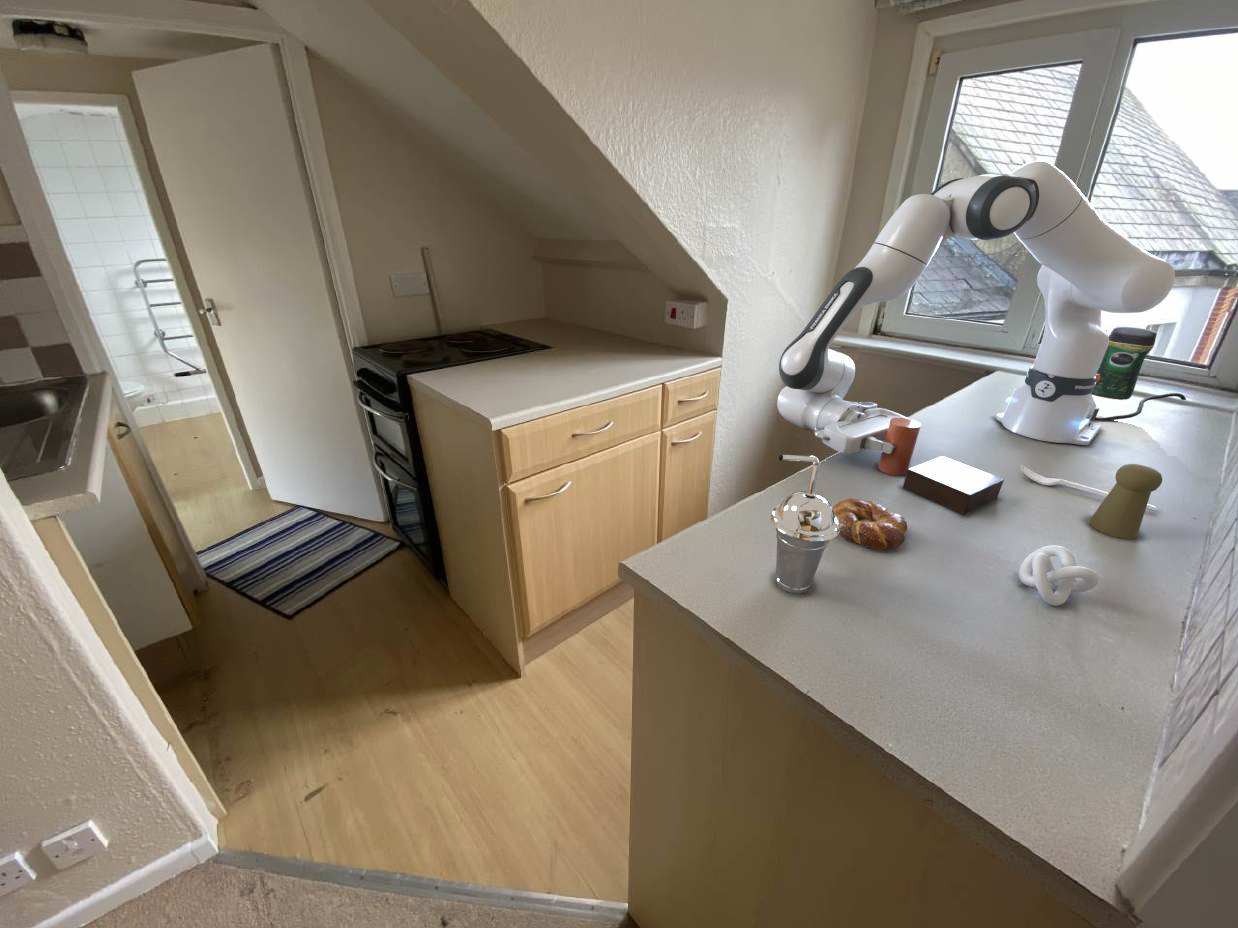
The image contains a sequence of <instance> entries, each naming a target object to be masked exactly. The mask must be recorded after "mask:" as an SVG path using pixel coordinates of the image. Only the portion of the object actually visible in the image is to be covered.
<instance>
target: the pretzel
mask: <svg viewBox="0 0 1238 928" xmlns="http://www.w3.org/2000/svg"><path fill="white" fill-rule="evenodd" d="M832 509H833V511H834V515H835V516H836V517H837V518H838V520H839V523H840V531H839V533H838V535H840V537H841V538H843V539H844V540H846V541H848V542H850V543H855V544H859V545H861V546H863V547H866V548H872V549H887V550H888V549H895V548H897V547H900V546H902V545H903V544H904V542H905V540H906V536H905V533H906V532H907V530H908V524H907V523H908V522H907V521H906V520H905V518H904V517H903V516H902V515H901V514H899V513H897V512H888V508H886V507H885V506H883V505H882V504H880V503H879V502H876V501H870V500H863V499H860V498H859V499H858V498H855V497H854V498H852V497H851V498H845V499H842V500H840V501H839V502H837V503H836V504H834V506H833V507H832Z"/></svg>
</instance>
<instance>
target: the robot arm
mask: <svg viewBox="0 0 1238 928" xmlns="http://www.w3.org/2000/svg"><path fill="white" fill-rule="evenodd" d="M1012 234H1014V235H1015V236H1016V237H1017V239H1018V240H1019V241H1020V242H1021V243H1022V244H1023V246H1024V247H1025V248H1026V249H1027V251H1028V252H1029V253H1030V254H1031V255H1032V256H1033V258H1034V259H1035V260H1036V261H1037V262H1038V263H1039V264H1040V265H1041V266H1040V268H1039V271H1038V273H1037V276H1036V277H1037V278H1036V285H1037V288H1038V289H1039V291H1040V293H1041V295H1042V298H1043V301H1044V311H1045V314H1044V315H1045V319H1044V330H1043V334H1042V338H1041V341H1040V344H1039V347H1038V351H1037V354H1036V356H1035V359H1034V362H1033V364H1032V365H1031V366H1029V369H1028V371H1027V372H1026V374H1025V379H1024V384H1022V385H1020V386H1018V387H1015V388H1014V390H1013V392H1012V394H1011V397H1006V400H1005V403H1007V406H1006V408H1005V410H1004V412H1002V413H997V414H996V416H995V419H996V421H999V422H1001V424H1002V426H1003V427H1004V428H1006V429H1007V430H1009V431H1011V432H1012V433H1015V434H1018V435H1020V436H1023V437H1027V438H1030V439H1034V440H1037V441H1042V442H1049V443H1058V444H1071V445H1079V446H1089V445H1090V444H1091V442H1093V440H1094V438H1095V437H1096V435H1097V434H1098V433H1099V432H1100V429H1101V425H1100V424H1097V423H1096V422H1094V421H1097V422H1099V421H1102V422H1103V421H1105V422H1106V421H1108V422H1109V421H1117V420H1124V419H1132V418H1135V417H1137V416H1139V415H1140V414H1141V413H1142V411H1143V408H1144V404H1145V403H1146V402H1148V401H1151V400H1158V399H1165V398H1170V397H1177V398H1179V399H1181V400H1182V401H1187V398H1186V396H1185V395H1184V394H1182V393H1178V392H1170V393H1164V394H1158V395H1151V396H1146V397H1144V398H1143V399H1141V400H1140V401H1139V403H1138V407H1137V410H1136V411H1135V412H1133V413H1132V412H1131V413H1128V414H1119V415H1114V416H1105V417H1097V416H1098V413H1099V411H1100V407H1097V404H1096V402H1095V400H1094V398H1093V395H1091V393H1092V392H1093V390H1094V387H1095V385H1096V382H1097V381H1098V380H1099V377H1100V374H1096V373H1097V370H1098V368H1099V366H1100V364H1101V361H1102V359H1103V357H1104V354H1105V352H1106V350H1107V347H1108V345H1109V334H1108V333H1107V332H1106V330H1105V329H1104V327H1103V324H1102V312H1107V313H1110V314H1111V313H1112V314H1134V313H1137V314H1138V313H1143V312H1148V311H1150V310H1152V309H1154V308H1155V307H1157V306H1158V305H1159V304H1160V303H1162V302H1163V301H1164V300H1165V299H1166V298H1167V297H1168V295H1169V294H1170V293H1171V291H1172V289H1173V287H1174V285H1175V282H1176V281H1175V280H1176V271H1175V268H1174V266H1173V265H1172V264H1171V263H1170V262H1169V261H1166V260H1165V259H1162V258H1160V257H1158V256H1156V255H1153V254H1151V253H1150V252H1148V251H1146V250H1145V249H1143V248H1142V247H1140V246H1139V245H1137V244H1136V243H1135V242H1133V241H1132V240H1131V239H1130V238H1128V236H1127V237H1126V236H1125V235H1124V234H1122V233H1121V232H1120V231H1118V230H1117V229H1115V228H1114V227H1113V226H1112V225H1110V224H1109V223H1108V222H1106V221H1105V219H1103V217H1102V216H1101V215H1100V214H1099V213H1098V211H1097V210H1096V209H1095V208H1094V206H1093V205H1092V204H1091V202H1089V200H1088V198H1087V197H1086V196H1085V195H1084V194H1083V192H1082V190H1080V189H1079V187H1078V186H1077V185H1076V184H1075V182H1073V180H1072V179H1070V177H1068V176H1067V175H1066V174H1065V173H1064V172H1063V171H1062V170H1060V169H1059V168H1057V167H1056V166H1055V165H1054V164H1052V163H1050V162H1048V161H1045V160H1034V161H1030V162H1028V163H1025V164H1023V165H1021V166H1019V167H1018V168H1016V169H1015V170H1013V171H1011V172H1010V174H1001V175H997V174H996V175H995V174H979V175H975V176H970V177H966V178H964V177H960V178H959V177H958V178H954V179H951V180H950V181H946V182H944V183H943V184H941V185H939V186H938V187H936V189H934V190H933V191H932V192H931V193H930V194H929V193H917V194H914V195H911V196H910V197H907V199H905V200H904V201H903V202H902V203H901V204H900V206H899V207H898V208H897V209H896V211H894V213H893V214H892V215H891V217H890V218H889V219H888V221H887V222H886V223H885V225H884V227H883V228H882V229H881V231H880V233H879V234H878V235H877V237H876V238H875V240H874V242H873V244H872V245H871V246H870V249H869V250H868V251H867V253H866V254H865V256H864V257H863V258H862V260H861V261H860V262H859V263H858V264H857V265H856V266H855V267H853V269H851V270H849V271H848V272H846V273H845V274H844V275H843V277H842V278H841V279H840V280H839V281H838V282H837V283H836V285H835V286H834V287H833V289H832V290H831V292H830V293H829V294H828V295H827V296H826V298H825V299H824V301H823V302H822V304H821V305H820V307H819V308H818V309H817V311H816V312H815V313H814V315H813V316H812V318H811V319H810V321H809V322H808V323H807V324H806V326H805V327H804V329H803V330H802V331H801V332H800V334H798V336H797V337H795V338H794V340H792V341H791V342H790V343H789V344H788V345H787V346H786V347H785V349H784V351H783V352H782V353H781V355H780V357H779V362H778V372H779V373H778V374H779V377H780V379H781V381H782V383H783V384H784V386H785V387H783V388H782V389H781V390H780V392H779V393H778V396H777V402H776V405H777V406H776V407H777V411H778V412H779V414H780V416H781V417H782V418H783V419H784V420H785V421H787V422H789V423H790V424H792V425H794V426H796V427H798V428H801V429H803V430H805V431H808V432H813V434H814V436H815V437H816V438H819V439H821V442H822V443H823V444H824V445H825V446H827V447H829V448H830V449H832V450H834V451H835V452H838V453H840V454H844V455H853V454H856V453H858V452H859V453H860V452H862V451H865V450H869V451H874V452H881V453H882V452H885V453H887V454H890V453H893V452H895V448H896V444H894V443H891V442H889V441H887V442H885V439H886V435H887V431H888V427H889V423H890V420H891V419H892V418H908V419H910V418H909V417H907V416H905V415H902V414H900V413H898V412H895V411H892V410H890V409H887V408H884V407H878V404H877V403H875V402H871V401H860V402H859V401H851V400H845V398H846V396H847V395H848V393H849V391H850V390H851V388H852V385H853V383H854V382H855V379H856V375H857V369H856V364H855V362H854V360H853V358H851V357H850V355H847V354H845V353H842V352H839V351H838V350H835V349H831V348H830V347H831V345H832V343H833V342H834V340H835V339H836V338H837V336H838V335H839V334H840V333H841V331H842V330H843V329H844V327H845V326H846V324H847V323H848V322H849V320H850V319H851V318H852V317H853V315H854V314H855V313H856V312H857V311H859V310H860V309H862V308H863V307H866V306H868V305H870V304H874V303H881V302H889V301H892V300H896V299H899V298H900V297H902V296H905V295H906V294H907V293H908V292H910V290H911V289H912V288H913V287H914V285H915V284H916V283H917V282H918V280H919V279H920V278H921V276H922V275H923V273H924V271H925V270H926V268H927V267H928V265H929V264H930V262H931V260H932V259H933V257H934V256H935V253H936V252H937V250H938V249H939V248H940V246H942V244H944V242H945V241H947V240H948V239H950V238H953V239H957V240H963V241H964V240H965V241H967V240H968V241H969V240H980V241H993V240H994V241H995V240H999V239H1003V238H1005V237H1007V236H1010V235H1012Z"/></svg>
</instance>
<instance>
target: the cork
mask: <svg viewBox="0 0 1238 928" xmlns="http://www.w3.org/2000/svg"><path fill="white" fill-rule="evenodd" d="M1115 481H1116V483H1115V484H1114V486H1113V487H1112V488H1111V489H1110V491H1109V492H1108V493H1109V494H1108V495H1107V497H1106V496H1105V497H1104V498H1103V499H1104V500H1102V502H1101V504H1100V505H1099V507H1098V508H1097V509H1096V510H1095V512H1094V513H1093V515H1092V516H1091V518H1090V519H1089V521H1088V524H1089V525H1090V526H1091V527H1093V528H1094V529H1095V530H1097V531H1098V532H1101V533H1102V534H1105V535H1108V536H1111V537H1115V538H1119V539H1125V540H1126V539H1128V540H1132V539H1136V538H1137V537H1138V535H1139V532H1140V529H1141V525H1142V523H1143V522H1142V521H1143V519H1144V516H1145V513H1146V510H1147V508H1146V507H1147V504H1149V500H1150V497H1151V494H1152V492H1155V491H1156V490H1158V488H1160V487H1161V485H1162V483H1163V476H1162V474H1161V472H1160V471H1158V470H1157V469H1155V468H1152V467H1150V466H1146V465H1143V464H1137V463H1128V464H1123V465H1121V466H1120V467H1119V468H1118V470H1117V471H1116V472H1115Z"/></svg>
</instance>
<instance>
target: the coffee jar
mask: <svg viewBox="0 0 1238 928" xmlns="http://www.w3.org/2000/svg"><path fill="white" fill-rule="evenodd" d="M1108 337H1109V345H1108V347H1107V350H1106V352H1105V354H1104V357H1103V359H1102V361H1101V364H1100V366H1099V368H1098V370H1097V373H1096V374H1100V377H1099V380H1098V381H1097V382H1096V385H1095V387H1094V390H1093V392H1092V393H1091V395H1092V396H1095V397H1098V398H1099V397H1100V398H1103V399H1110V400H1111V399H1112V400H1120V401H1123V400H1124V401H1127V400H1129V399H1131V398H1132V396H1133V394H1134V391H1135V388H1136V385H1137V382H1138V378H1139V375H1140V372H1141V370H1142V366H1143V364H1144V361H1145V359H1146V357H1147V355H1148V354H1149V353H1150V352H1151V351H1152V350H1153V349H1154V347H1155V344H1156V338H1157V331H1156V330H1153V329H1147V328H1141V327H1133V326H1115V327H1114V328H1113V329H1112V331H1111V332H1110V333H1109V334H1108Z"/></svg>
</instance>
